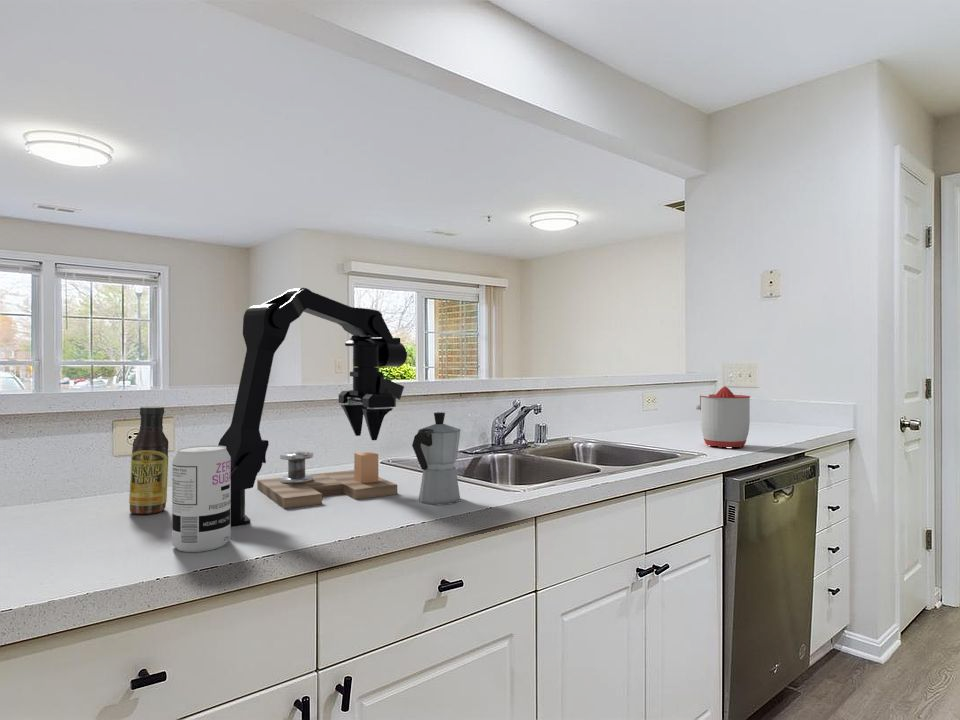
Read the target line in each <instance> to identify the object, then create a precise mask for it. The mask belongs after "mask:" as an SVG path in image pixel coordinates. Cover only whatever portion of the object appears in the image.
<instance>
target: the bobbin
mask: <svg viewBox="0 0 960 720" xmlns="http://www.w3.org/2000/svg"><path fill="white" fill-rule="evenodd" d="M279 458H280V460H285V461H287V469H288V470H287V475H283V476H281V478H280V477H279V478H280V483H283V484H303V483H309V482H312V481H313V476H312V475H309V474H306V460H308V459H312V458H314V452H312V451H303V450H302V451H301V450H300V451H288V452H287V451H286V452H281V453H280V454H279Z"/></svg>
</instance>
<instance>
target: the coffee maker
mask: <svg viewBox="0 0 960 720" xmlns="http://www.w3.org/2000/svg"><path fill="white" fill-rule="evenodd" d="M433 415H434V424H431V425H428V426H425V427H423V428H420V429H418V430H417V431H418V432H417V434H415V435H414V437H413V440H412V444H411V447H412V449H413V451H414V454H415V456H416V458H417V462H418V465H419V466H420V468H421V470H422V475H421V476H422V477H421V483H420V490H419V495H418V500H419V502H420V503H421V504H425V503H426V505H432V504H433V505H434V506H438V505H437V504H442V505H450V504H449V503H453V504H455V503H454V502H456V503H457V501H458V502H460V501H459V500H461V495H460V487H459V481H458V475H457V468H456V466H455V462H456V461H457V460H458V452H459V445H460V437H461V428H458V427H455V426H451V425H449V424H445V423H444V421H445V415H446V412H439V411H437V412H433ZM433 505H432V506H433Z"/></svg>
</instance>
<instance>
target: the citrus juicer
mask: <svg viewBox="0 0 960 720" xmlns="http://www.w3.org/2000/svg"><path fill="white" fill-rule="evenodd" d="M750 398H751V395H745V394H744V395H742V394H734V393H733V392H732V391H731V389H729V388H728V387H727V386H723V387H722V388H720V389H719V390H718V391H717V393H715V394H713V393H712V394H708V395H702V394H700V395H699V404H698V405H697V406H696V410H697V411H700V426H701V433H702V436H703V441H704V443H705V445H706V444H707V445H706V446H708V445H710V446H718V447H717V448H722V447H740V448H743V447H742V446H744V447H745V445H746V443H747V439H748V436H749V431H750V418H751V415H750V414H751V412H750V406H751V404H750V400H751V399H750Z"/></svg>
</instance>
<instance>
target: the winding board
mask: <svg viewBox="0 0 960 720" xmlns="http://www.w3.org/2000/svg"><path fill="white" fill-rule="evenodd" d="M308 475H312V476H313V481H312V482H309V483H303V484H283V483H280V478H281V477H282V476H281V477H272V478H271V477H270V478H261V479H257V480H256V482H257V483H256V485H257V487H256V488H257V490H258V491H259V492H261V493H262V494H263V495H264V496H266V497H268V499H270V500H271V501H273V502H274V503H275V504H276V505H278V506H280V507H281V508H282V509H291V508H292V509H294V508H299V507H300V508H301V507H306V506H308V507H309V506H315V505H316V506H317V505H321V504H322V503H323V496H333V495H339V494H344V495H346V496H348V497H350V498H351V499H354V500H361V499H368V498H377V497H383V496H384V497H385V496H392V495H393V496H394V495H398V484H397V483H395V482H392V481H389V480H387V479H384V478H382V477H379V476H378V481H377V482H368V483H359V482H357V481H355V480H354V469H351V470H349V469H348V470H342V471H341V470H340V471H331V472H320V473H319V472H318V473H310V474H309V473H308Z"/></svg>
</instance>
